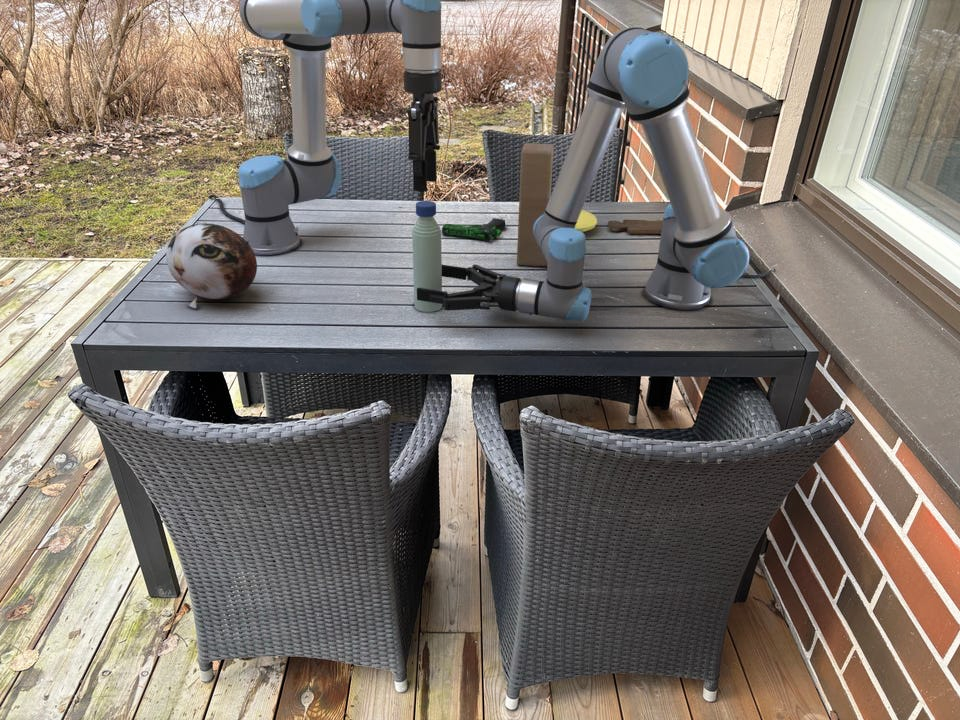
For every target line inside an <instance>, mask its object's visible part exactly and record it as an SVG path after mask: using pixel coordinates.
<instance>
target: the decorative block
mask: <svg viewBox="0 0 960 720" xmlns="http://www.w3.org/2000/svg"><path fill="white" fill-rule="evenodd" d="M554 149H555V147H554V145H553V144H551V143H533V142H526V143H524V144H523V146H522V149H521V154H520V174H519V175H520V176H519V178H520V179H519V199H518V218H517V219H518V220H517V224H518V225H517V244H516V248H517V249H516V265H518V266H530V267H543V268H547V266H548V264H547V260H546V259H545V257H544V255H543V253H542V251H541V249H540V247H539V246H538V245H537V243H536V241H535V238H534V234H533V226H534V223H535V221H536V220H537V219H538V218H539V217H540V216H542V215H543V214H544V212H545V210H546V208H547V205H548V202H549V200H550V197H551V194H552V178H553V167H554V165H553V164H554Z"/></svg>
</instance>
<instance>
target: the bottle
mask: <svg viewBox="0 0 960 720" xmlns="http://www.w3.org/2000/svg"><path fill="white" fill-rule="evenodd" d="M411 243H412V266H413V267H412V269H413V270H412V271H413V272H412V273H413V274H412V275H413V295H414V298H413V299H414V300H413V301H414V309H416V311H419V312H423V313H433V312H437V311H439V310H441V309H442V308H443V304H439V303H433V302H426V301H420V300H417V288H425V289H431V290H438V291H443V277H442V265H443V264H442V262H443V261H442V258H443V257H442V229H441V227H440V225H439V223H438V222H437V221H436V219H435V217H434V216H432V217H420V216H418V218H417V220H416V221H415V223H414V225H413V227H412V230H411Z"/></svg>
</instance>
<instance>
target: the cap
mask: <svg viewBox="0 0 960 720" xmlns="http://www.w3.org/2000/svg"><path fill="white" fill-rule="evenodd" d="M415 214H416V216H418V217H419V216H420V217H432V216H433V217H435V216H436V215H437V204H436V202H434V201H432V200H420V201H417V202H416V203H415Z"/></svg>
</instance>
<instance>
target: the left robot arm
mask: <svg viewBox="0 0 960 720" xmlns="http://www.w3.org/2000/svg"><path fill="white" fill-rule="evenodd" d="M442 7H443V5H442V1H441V0H240V3H239V17H240V20H241V22H242V25H243V26H244V28H245V29H246V30H247V31H248V32H249V33H250V34H251V35H253V36H255V37H257V38H259V39H262V40H267V41H282V46H283V47H285V49H287V51H288V52H289V70H290V71H289V72H290V94H291V97H290V98H291V118H292V123H291V124H292V140H293V141H292V145H290V146H289V147H288V149H287V159H283V158H282V157H281V156H279V155H275V154H274V155H273V154H268V155H260V156H259V155H258V156H256V157H252V158H250V159H247V160H245V161H244V162H243V163H241V165H239V167H238V170H237V174H238V186H239V190H240V196H241V201H242V208H243V212H244V213H243V215H244V219H243V218H241V217H238V216H235V215H233V214H231V213H230V212H228V211H227V210H226V209H225V208H224V203H223V200H222V199H221V198H219V196H217V195H216V194H210V195H209V196H208V199H209V200H212V199H214V200H216V201H217V202H218V204H219V209H220V211H221V212H222V213H223V214H224V216H226V217H228V218H229V219H231V220H234V221H237V222H240V223H242V224H244V226H243V228H244V229H243V235H242V237H243V238H244V239H245V240H246V241H249V242H248V244H249V245H250V247H251V248H252V250H253V252H254V254H255V256H256V255H257V256H275V255H281V254H282V255H283V254H285V253H289V252H291V251H293V250H296V249H297V248H298V247H299V246H300V244H301V241H300V235H299V233H298V231H299V226H296V227H295V225H294V223H293V220H292V218H291V216H290V207H289V206H291V205H294V204H295V205H296V204H301V203H304V202H311V201H315V200H323V199H324V198H328V197H331V196H333V195H334V194H336V193H337V192H338V191H339V189H340V185H341V181H342V171H341V168H340V162H339V159H338V158H337V156H336V155H335V154H334V153H333V150H332V149H331V148H330V147H329V146H328V145H327V91H326V90H327V87H326V86H327V85H326V83H327V81H326V80H327V79H326V76H327V75H326V74H327V73H326V54H327V53H328V52H329V51H330V50H331V49H332V45H333V44H332V38H336V37H344V36H354V35H356V36H357V35H370V34H372V35H373V34H385V33H395V34H401V44H402V45H401V46H402V50H401V51H400V53H399V55H400V56H401V57H402V67H403V68H404V69H405V71H403V74H402V75H403V90H404V91H405V92H406V93H408V94H411V95H412V101H411V103H410V104H411V105H410V107H408V108H407V111H406V112H407V120H408V156H407V159H408V161H412V177H413V178H412V179H413V180H412V181H413V182H412V183H413V191H414V192H421V193H422V192H423V193H427V192H428V182H432V183H436V182H437V181H438V179H437V175H438V174H437V151H440V150H441V145H439V144H440V134H439V132H440V131H439V109H438V108H439V97H438V96H437V95H435V96H434V94H437V93H440V92H441V91H442V89H443V82H442V81H443V79H442V78H443V76H442V75H443V73H442V72H441V69H442V68H443V62H442V58H443V57H442V55H443V54H442ZM211 198H212V199H211ZM216 198H219V199H216Z"/></svg>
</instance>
